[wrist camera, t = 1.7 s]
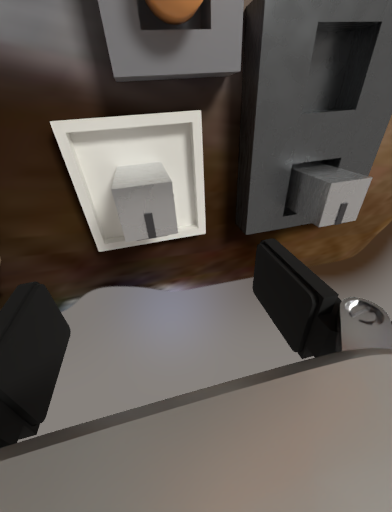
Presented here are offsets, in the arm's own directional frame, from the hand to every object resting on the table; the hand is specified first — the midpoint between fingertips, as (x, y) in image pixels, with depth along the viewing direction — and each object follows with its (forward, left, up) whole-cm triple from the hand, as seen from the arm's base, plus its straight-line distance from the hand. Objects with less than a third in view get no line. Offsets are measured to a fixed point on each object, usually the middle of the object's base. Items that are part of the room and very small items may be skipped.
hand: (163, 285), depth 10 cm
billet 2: (+1, +17, -14) cm, 22 cm away
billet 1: (-1, 0, -14) cm, 14 cm away
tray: (-1, 0, -15) cm, 15 cm away
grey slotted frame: (-4, +17, -15) cm, 23 cm away
